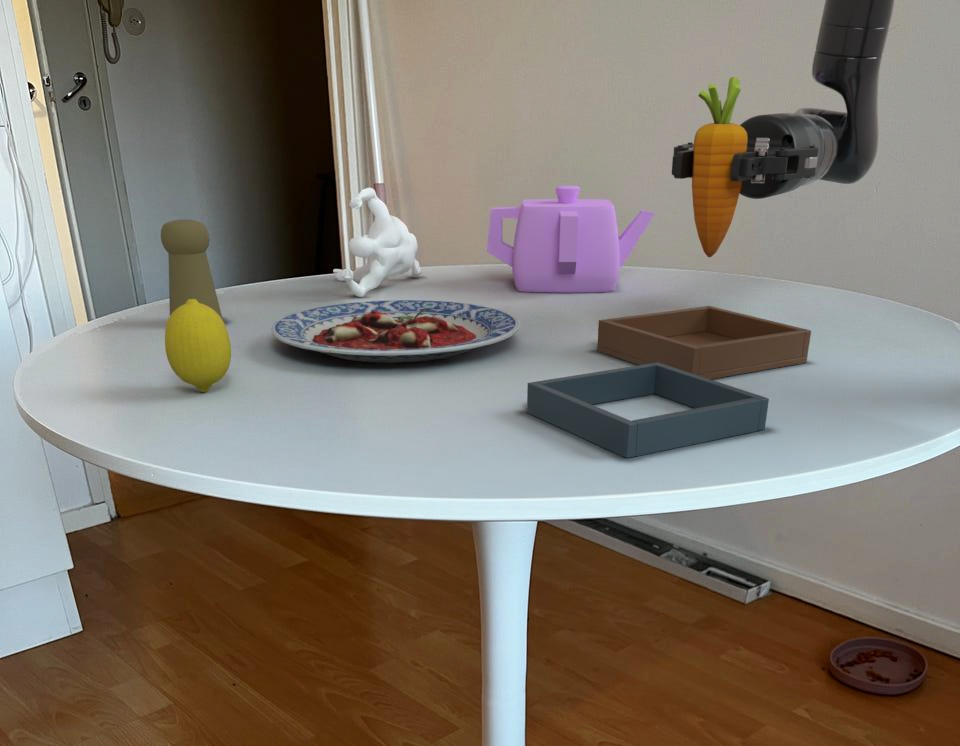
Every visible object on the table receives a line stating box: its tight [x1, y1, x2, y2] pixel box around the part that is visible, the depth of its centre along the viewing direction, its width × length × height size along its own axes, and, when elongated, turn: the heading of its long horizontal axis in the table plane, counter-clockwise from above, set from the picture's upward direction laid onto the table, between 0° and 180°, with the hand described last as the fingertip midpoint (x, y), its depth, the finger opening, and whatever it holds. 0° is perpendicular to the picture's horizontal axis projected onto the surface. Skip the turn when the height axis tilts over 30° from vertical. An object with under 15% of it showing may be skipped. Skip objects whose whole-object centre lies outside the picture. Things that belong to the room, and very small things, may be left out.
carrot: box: [691, 76, 748, 258], centre depth 92 cm, size 5×5×15 cm
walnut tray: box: [596, 305, 812, 380], centre depth 100 cm, size 15×15×3 cm
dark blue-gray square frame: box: [526, 362, 770, 459], centre depth 81 cm, size 14×14×2 cm
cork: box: [160, 218, 224, 321], centre depth 113 cm, size 6×6×11 cm
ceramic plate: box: [270, 299, 521, 364], centre depth 105 cm, size 26×26×3 cm
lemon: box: [164, 299, 232, 393], centre depth 88 cm, size 6×6×8 cm
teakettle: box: [486, 185, 655, 294], centre depth 134 cm, size 17×17×12 cm
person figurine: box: [332, 187, 423, 298], centre depth 133 cm, size 13×13×18 cm
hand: (706, 166), depth 90 cm, fingers closed on carrot, 5 cm apart
